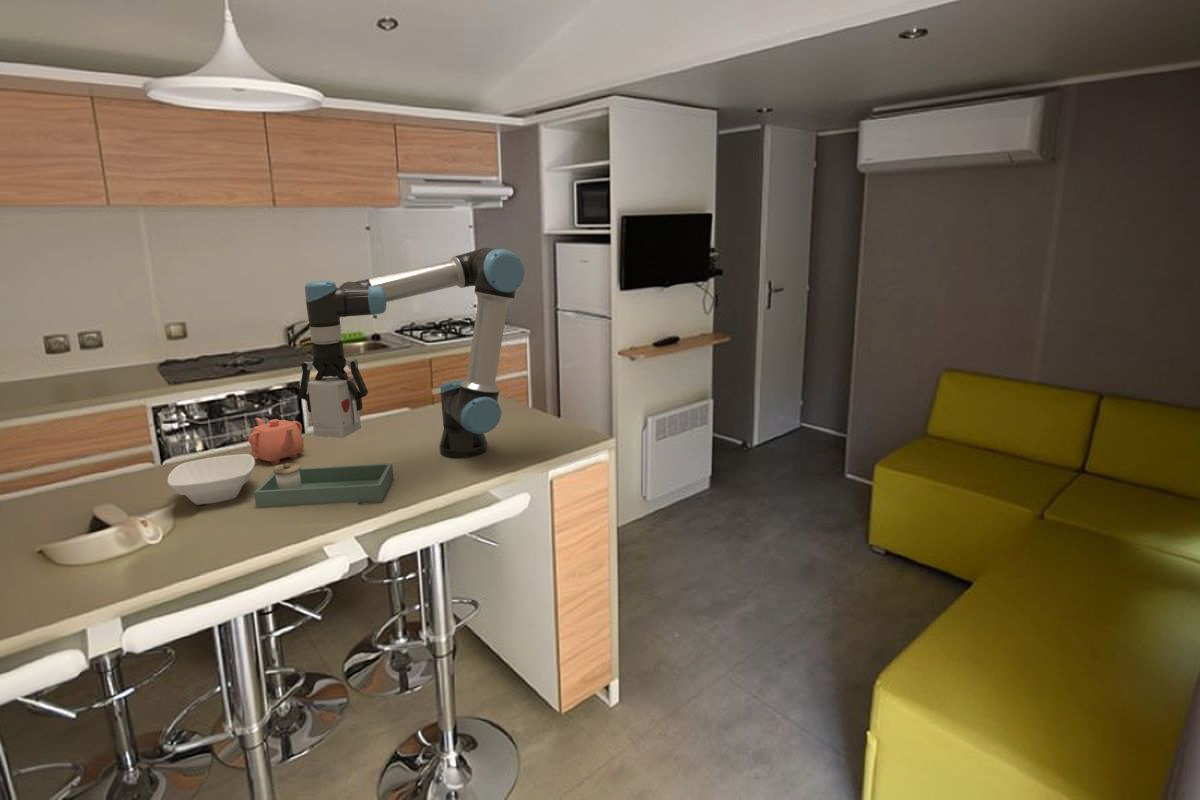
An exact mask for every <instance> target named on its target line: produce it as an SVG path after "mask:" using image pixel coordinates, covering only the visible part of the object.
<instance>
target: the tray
mask: <svg viewBox="0 0 1200 800" xmlns="http://www.w3.org/2000/svg"><path fill="white" fill-rule="evenodd" d="M393 469H394V468H393V463H391V462H390V463H372V464H355V465H337V466H336V465H335V466H319V467H316V466H315V467H303V468H302V467H301V469H300V470H299V471H300V478H301V484H302V488H296V489H277V483H276V476H275V474H274V473H273V472H272V473H271V474H270V475H269V476H268V478H266V480H264V481H263V482H262V484H260V485H259V486H258V488H256V489H255V491H253V495H254V502H255V507H256V508H269V507H285V506H287V507H288V506H302V505H303V506H304V505H318V504H319V505H321V504H337V503H354V502H357V505H361V504H362V505H365V504H364V503H368V504H379V503H383V502H384V500H385V498H386V496H387V494H388V491H389V490H390V488H391V486H392V484H393V482H394V480H395V477H394V470H393Z"/></svg>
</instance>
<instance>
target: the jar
mask: <svg viewBox="0 0 1200 800" xmlns="http://www.w3.org/2000/svg"><path fill="white" fill-rule="evenodd" d="M275 476H276V483H277V489H296V488H302V484H301V478H300V471H299V470H298V471H296V472H294V473H290V474H284V475H278V474H275Z"/></svg>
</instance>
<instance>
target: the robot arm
mask: <svg viewBox="0 0 1200 800" xmlns="http://www.w3.org/2000/svg"><path fill="white" fill-rule="evenodd" d="M524 278H525V267H524V264H523V262H522V260H521V259H520V257H519V256H518V255H517V254H516V253H514V252H512V251H510V250H507V249H505V248H492V247H482V248H479V249H475V250H472V251H469V252H468V251H467V252H465V253H462V254H458V255H454V256H452V257H451V258H450V260H447V261H444V262H439V263H435V264H430V265H425V266H421V267H420V266H419V267H416V268H410V269H407V270H403V271H402V270H401V271H397V272H392V273H390V274H389V273H388V274H384V275H380V276H379V275H378V276H375V277H370V278H366V279H362V280H356V281H352V280H351V281H345V282H343V283H341V284H340V285H339V286H337V285H336V282H335V281H334V280H318V281H317V280H314V281H308V282H307V283H306V284H305V286H304V291H305V293H304V294H305V305H306V311H307V319H308V324H309V334H310V341H311V342H312V344H311V349H312V357H313V360H312V361H307V360H306V361H304V362H303V363H301V370H302V375H301V379H300V386H299V390H298V396H297V397H298V399H300V400H304V401H306V404H307V405H306V406H307V412H308V413H311V405H310V397H309V392H308V382H310V375H311V370H312V369H313V368H315V370H316V371H317V373H316V375H315V378H314V381H318V380H321V379H322V378H323V377H328V376H332V377H336V376H338V378H339V379H341V380H347V379H348V378H349V377H348V376H349V375H348V373H347V372H346V370H345V367H346V366H347V367H348V369H349V370H350V371H351V374H352V375H351V376H353V377H354V379H355V382H356V386H357V387H356V386H355V385H354V383H353V382H350V381H348V380H347V385H348V390H349V391H350V392H351V394H352V395H353V396H354V399H353V400H352V403H353V412H354V420H355V423H358V422H359V421H360V422H361V416H360V415H361V414H360V411H362V409H363V399H362V398H364V397H366V396H368V394H369V391H368V388H367V386H366V384H365V382H364V379H363V376H362V375H361V372H360V369H359V363H358V360H357V359H354V360H347V359H346V358H345V352H344V351H345V350H344V345H343V341H342V338H343V335H342V329H341V327H342V326H341V320H340V319H341V318H346V317H357V316H358V317H361V316H375V315H381V314H384V313H385V312H386V310H387V303H389V302H393V301H398V300H402V299H406V298H410V297H414V296H415V297H416V296H419V295H424V294H427V293H431V292H437V291H441V290H444V289H445V290H446V289H449V288H453V287H456V286H457V287H459V288H461V289H464V288H468V287H474V294H475V296H476V297H477V300H478V301H477V308H476V314H475V320H474V328H473V334H472V340H471V347H470V352H469V360H468V366H467V371H466V378H465V379H456V380H455V379H454V380H450V381H446V382H443V383H441V385H440V393H439V396H440V401H441V413H442V425H443V431H442V434H441V435H442V436H441V439H440V443H439V453H440V455H441V456H442V457H446V458H451V459H466V458H473V457H476V456H479V455H482V454H484V453H485V452H487V451H488V448H489V447H488V441H487V437H486V436H485V434H487V433H489V432H491V431H493V430H494V429H495V428H496V427H497V426H498V425H499V423H500V421H501V417H502V409H501V406H500V404H499V402H498V401H499V393H500V389H499V387H498V386H497V385H496V381H497V373H498V367H499V361H500V356H501V355H500V354H501V349H502V343H503V338H504V337H503V336H504V331H505V324H506V317H507V312H508V306H509V304H510V303H512V302H513V301H514V300H515V295H516V290H518V288H519V287H520V286H521V285H522V283H523V281H524Z"/></svg>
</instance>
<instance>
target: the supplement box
mask: <svg viewBox="0 0 1200 800" xmlns="http://www.w3.org/2000/svg"><path fill="white" fill-rule="evenodd" d="M348 377H349V378H348V379H347V380H348V381H350V382H353V383H354V385H355V386H356V387H357V388H358V386H357V384H356V382H355V379H354V377H353V375H348ZM314 380H315V379H314ZM314 380H311V381H309V382H308V388H307V390H308V393H309V397H310V405H311V412H310V413H311V421H312V427H313V436H314V437H323V438H324V437H325V438H336V439H337V438H338V439H345V438H346V437H348V436H350V435H352V434H353V433H355V432H357V431H359V430H361V429H362V424H361V420H360V421H359V422H358V423H355V420H354V412H353V403H352V400H353V399H354V396H353V395H352V394H351V392H350V391H349V390H348V385H347V380H341V379H339V378H338V376H336V377H332V376H328V377H323V378H322V379H321V380H318V381H314Z"/></svg>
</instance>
